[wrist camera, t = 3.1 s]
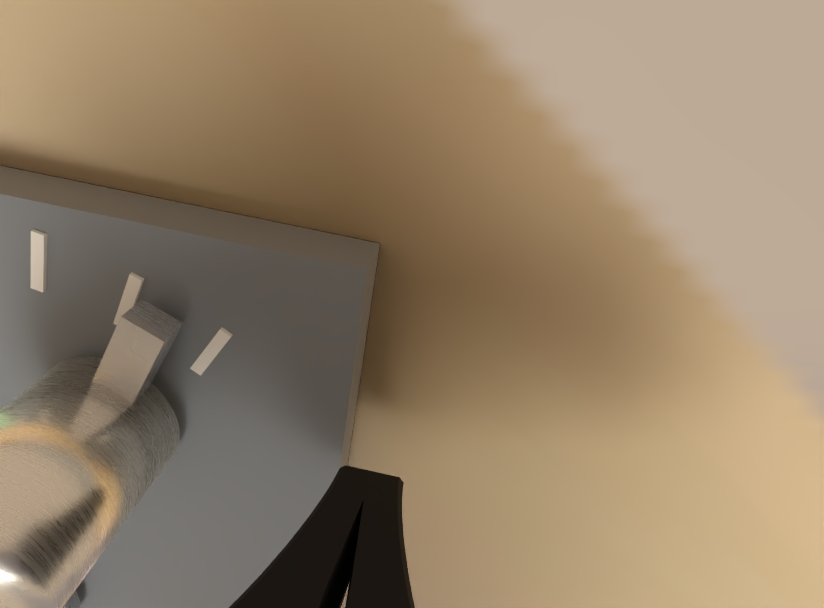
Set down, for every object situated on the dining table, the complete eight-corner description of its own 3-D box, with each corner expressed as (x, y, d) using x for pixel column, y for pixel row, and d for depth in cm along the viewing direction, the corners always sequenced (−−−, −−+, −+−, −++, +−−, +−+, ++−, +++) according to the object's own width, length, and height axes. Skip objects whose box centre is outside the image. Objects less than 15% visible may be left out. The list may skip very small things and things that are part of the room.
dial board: (319, 657, 21) (306, 703, 20) (-155, 545, 22) (-200, 582, 20) (380, 243, 13) (365, 271, 12) (-378, 87, 14) (-477, 97, 12)
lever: (63, 637, 19) (-52, 804, 15) (-37, 589, 19) (-184, 749, 15) (234, 354, 13) (111, 516, 9) (87, 266, 12) (-118, 395, 8)
